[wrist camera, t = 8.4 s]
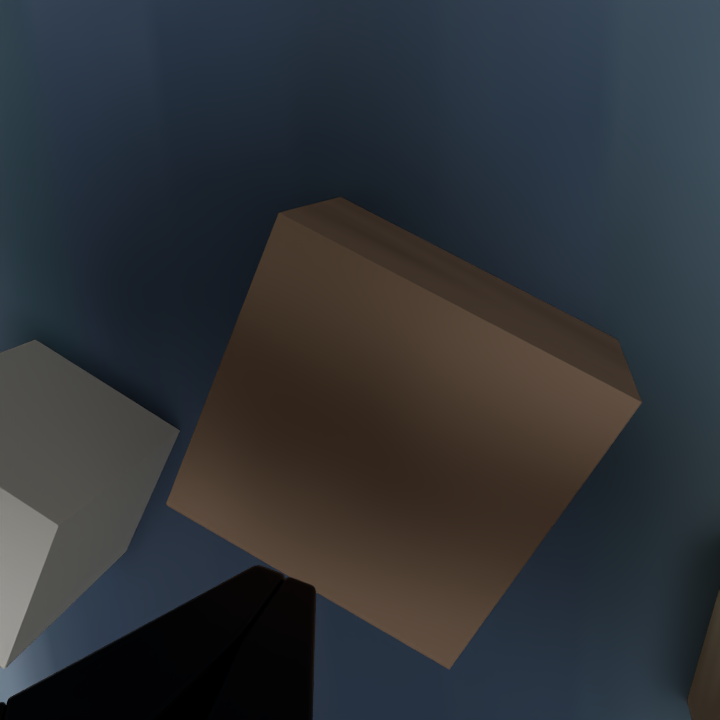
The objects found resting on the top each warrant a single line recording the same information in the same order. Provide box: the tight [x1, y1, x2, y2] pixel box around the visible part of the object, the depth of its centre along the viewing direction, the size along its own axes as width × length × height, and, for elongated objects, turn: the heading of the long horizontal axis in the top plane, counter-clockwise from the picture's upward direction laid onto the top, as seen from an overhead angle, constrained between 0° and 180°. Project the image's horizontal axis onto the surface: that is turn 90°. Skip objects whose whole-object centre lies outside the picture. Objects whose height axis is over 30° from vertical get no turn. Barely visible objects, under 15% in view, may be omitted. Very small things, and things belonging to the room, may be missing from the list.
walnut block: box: [166, 197, 642, 669], centre depth 14 cm, size 7×7×4 cm
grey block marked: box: [0, 340, 180, 669], centre depth 17 cm, size 5×5×5 cm
